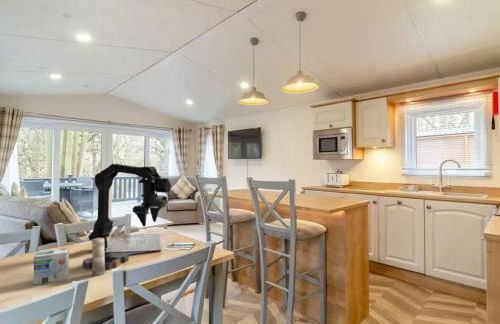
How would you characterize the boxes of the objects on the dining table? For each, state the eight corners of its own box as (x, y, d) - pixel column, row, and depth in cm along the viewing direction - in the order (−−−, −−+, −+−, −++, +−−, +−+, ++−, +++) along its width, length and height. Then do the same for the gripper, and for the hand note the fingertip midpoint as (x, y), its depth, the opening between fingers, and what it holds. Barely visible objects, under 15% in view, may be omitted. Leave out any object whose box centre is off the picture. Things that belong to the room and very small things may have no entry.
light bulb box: (33, 285, 104) (32, 256, 104) (36, 278, 110) (36, 251, 110) (67, 279, 109) (67, 252, 109) (69, 273, 115) (69, 247, 115)
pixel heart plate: (78, 268, 121) (78, 262, 121) (103, 256, 136) (103, 250, 136) (110, 271, 118) (110, 265, 118) (132, 258, 133) (132, 252, 133)
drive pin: (89, 275, 113) (89, 240, 113) (97, 271, 117) (97, 237, 117) (99, 276, 112) (99, 241, 112) (107, 272, 117) (106, 238, 116)
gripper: (153, 194, 128) (154, 229, 128) (173, 190, 146) (173, 220, 146) (131, 194, 130) (132, 228, 130) (153, 189, 148) (154, 219, 148)
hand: (149, 223), depth 139 cm, fingers open, 9 cm apart
